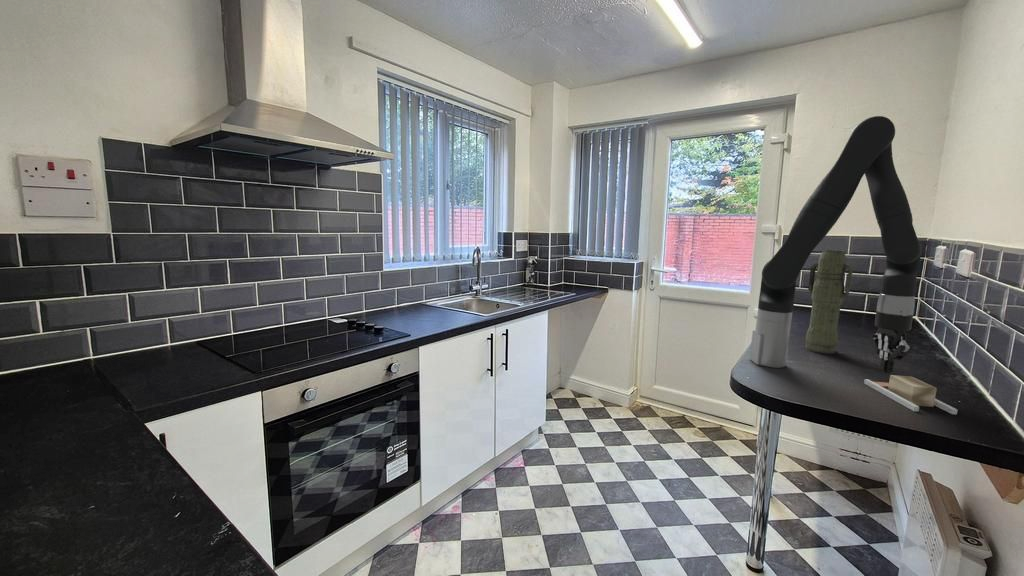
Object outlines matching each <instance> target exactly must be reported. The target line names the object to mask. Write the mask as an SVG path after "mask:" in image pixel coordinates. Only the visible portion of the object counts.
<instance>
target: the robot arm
mask: <svg viewBox="0 0 1024 576" xmlns="http://www.w3.org/2000/svg"><path fill="white" fill-rule="evenodd" d="M895 135H896V127H895V124H894V122H893V121H892V120H891V119H890V118H888V117H886V116H883V115H876V116H870V117H868V118H866V119H864V120H862V121H861V122H859V123H858V124H856V125H855V127H854V128H853V129H852V131H851V132H850V135H849V138H848V139H847V141H846V143H845V145H844V147H843V149H842V151H841V153H840V154H839V157H838V158H837V160H836V162H835V163H834V164H833V165H832V167H831V169H830V170H829V171H828V172H827V173H826V175H825V176H824V177H823V178H822V179H821V181H820V182H819V184H818V185H817V187H816V188H815V189H814V191H813V192H812V193H811V195H810V196H809V198H807V201H805V203H804V204H803V206H802V208H801V210H800V211H799V214H798V215H797V217H796V218H795V220H794V223H793V225H792V227H791V229H790V231H789V234H788V236H786V237H787V238H786V239H785V241H784V242H783V244H782V245H781V247H780V248H779V249H778V250H777V252H775V254H774V255H773V257H772V258H771V259H770V260H768V261H767V262H765V264H764V266H763V268H762V270H761V281H760V282H761V283H760V290H759V296H758V305H757V306H758V307H757V316H756V322H755V323H756V324H755V330H752V334H751V343H750V351H749V352H750V353H749V360H750V361H752V362H753V363H754V364H755V365H757V366H764V367H768V368H776V369H777V368H778V369H779V368H780V369H781V368H785V367H786V366H787V361H788V351H789V342H790V336H791V328H792V320H793V315H794V314H793V313H794V305H795V296H796V295H795V294H796V287H797V280H798V278H799V275H800V274H801V271H802V269H803V267H804V266H805V264H806V263H807V260H808V258H809V257H810V255H811V254H812V252H813V251H814V249H816V247H817V246H818V245H819V244H820V243H821V242H822V241H823V239H824V238H825V237H826V236H827V235H828V233H829V232H830V231H831V229H832V228H833V227H834V226H835V224H836V223H838V220H839V218H841V216H842V214H843V213H844V211H845V210H846V208H847V207H848V205H849V203H850V201H851V200H852V198H853V196H854V194H855V193H856V190H857V188H858V186H859V185H860V184H861V183H860V182H861V181H862V178H863V177H864V176H865V179H866V182H867V187H868V189H869V194H870V199H871V204H872V208H873V212H874V216H875V220H876V222H877V225H878V227H879V230H880V238H881V244H882V247H883V251H884V255H885V257H886V259H885V260H886V261H885V268H884V274H883V275H882V278H881V282H880V283H881V284H880V289H879V295H878V300H877V303H876V310H875V317H874V318H875V319H874V326H875V327H876V328H877V330H876V333H874V334H873V333H872V334H870V336H869V337H870V340H871V343H872V347H873V349H874V352H875V354H876V355H879V358H880V364H879V371H880V372H882V373H884V374H893V371H894V365H895V361H902V360H903V359H904V358H905V357H906V356H908V355H909V353H910V352H912V350H913V348H914V346H913V345H908V343H907V342H906V341H907V332H908V331H911V330H912V327H913V320H914V314H915V305H916V301H915V299H916V298H915V297H916V290H917V279H918V276H917V275H918V270H919V266H920V262H921V258H922V251H923V247H922V244H921V243H920V241H919V239H918V237H917V234H916V230H915V227H914V224H913V220H914V219H913V214H912V211H911V207H910V203H909V199H908V197H907V194H906V192H905V189H904V187H903V185H902V182H901V180H900V178H899V176H898V174H897V171H896V167H895V165H894V164H895V163H894V159H893V147H892V146H893V144H892V143H893V140H894V138H895Z"/></svg>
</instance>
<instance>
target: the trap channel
mask: <svg viewBox="0 0 1024 576" xmlns="http://www.w3.org/2000/svg"><path fill="white" fill-rule="evenodd" d="M863 383H864V385H866V386H868V387H869V388H872V389H873V390H875V391H877V392H879V393H881V394H883V395H884V396H886V397H887V398H890V400H894V402H897V403H899V405H902V406H904V407H905V408H908V410H909V409H910V410H911V411H912V412H919V411H920V406H917V405H915V404H913V403H911V402H909V401H908V400H906V399H904V398H902V397H900V396H898V395H896V394H895V393H893V392H891V391H889V390H888V386H889V382H885V381H883V382H882V381H881V382H880V381H873V380H871V379H866V378H865V379H864V381H863ZM935 406H936V407H937V408H939V409H941V410H943V411H945V412H947V413H949V414H951V415H955V416H956V415H957V414H958V409H957V408H955V407H953V406H951V405H949V404H947V403H945V402H943V401H942V400H939V399H937V398H935V401H934V407H935Z"/></svg>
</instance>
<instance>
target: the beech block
mask: <svg viewBox="0 0 1024 576" xmlns="http://www.w3.org/2000/svg"><path fill="white" fill-rule="evenodd" d="M888 383H889V386H888V387H887V390H889V391H891V392H893V393H895V394H896V395H898V396H900V397H902V398H904V399H906V400H908V401H909V402H911V403H913V404H915V405H917V406H919V407H929V408H931V407H932V408H934V407H935V405H934V401H935V399H936V394H937V387H935V386H933V385H931V384H929V383H927V382H924V381H923V380H920V379H918V378H916V377H913V376H910V375H909V376H908V375H897V374H895V375H893V374H890V376H889V381H888Z"/></svg>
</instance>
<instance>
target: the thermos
mask: <svg viewBox="0 0 1024 576" xmlns="http://www.w3.org/2000/svg"><path fill="white" fill-rule="evenodd" d="M816 268H817V270H816ZM809 269H810V270H809V282H808V289H807V290H808V292H810V294H811V301H812V306H811V313H810V320H809V327H808V329H807V330H806V335H805V349H806V350H808V351H810V352H813V353H817V354H828V355H831V354H836V347H837V345H838V339H839V332H838V327H839V326H838V325H839V318H840V312H841V305H842V304H843V303H844V298H845V297H846V298H848V297H849V295H850V290H851V284H852V277H853V270H854V269H852V266H850V265H848V264H847V257H846V253H845V252H843V250H828V249H827V250H825V251H822V252H821V254H820V256H819V258H818V263H813V264H812V266H811V267H810V268H809ZM846 269H847V270H848V273H847V279H846V285H845V282H844V280H845V278H844V276H845V273H846ZM816 273H817V276H816ZM815 276H816V277H815Z"/></svg>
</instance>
